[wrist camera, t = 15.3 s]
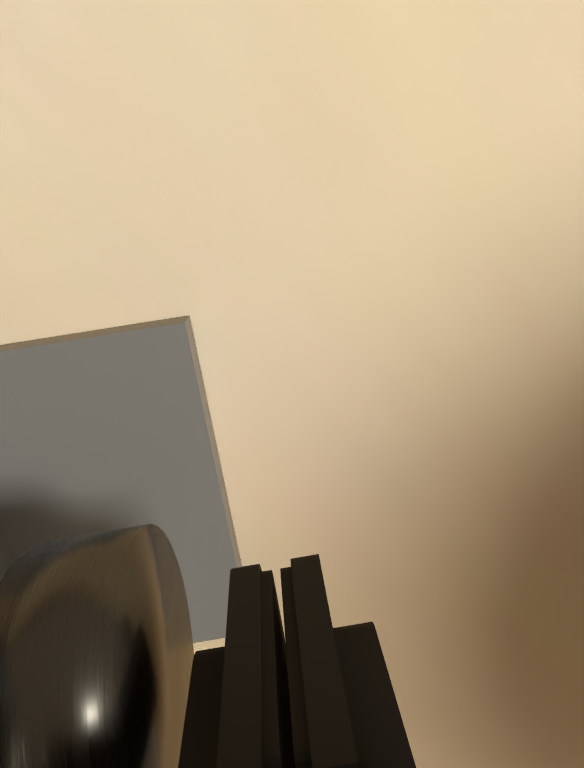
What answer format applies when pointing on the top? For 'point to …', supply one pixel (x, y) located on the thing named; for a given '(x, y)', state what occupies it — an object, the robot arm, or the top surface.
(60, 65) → the top surface
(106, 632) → the shaft
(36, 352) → the grey bearing stand
